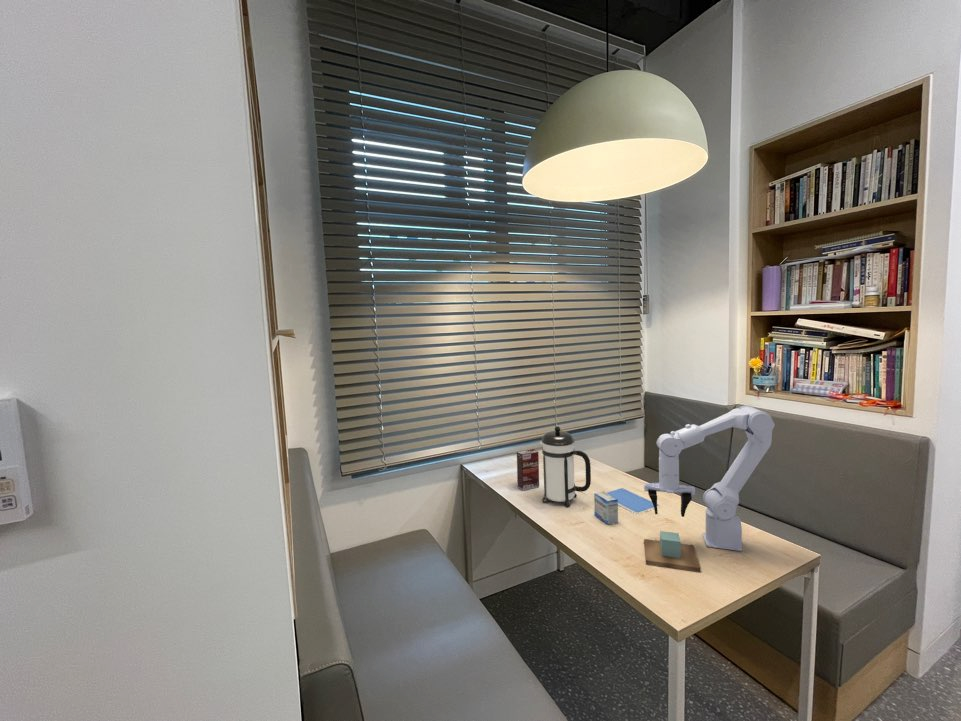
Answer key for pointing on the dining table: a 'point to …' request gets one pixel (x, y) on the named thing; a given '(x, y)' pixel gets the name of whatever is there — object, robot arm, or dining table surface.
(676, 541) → the teal cube
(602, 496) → the medicine box
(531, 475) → the supplement box
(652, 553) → the walnut board
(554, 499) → the coffee press
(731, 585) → the dining table surface
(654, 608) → the dining table surface
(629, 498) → the tablet computer
